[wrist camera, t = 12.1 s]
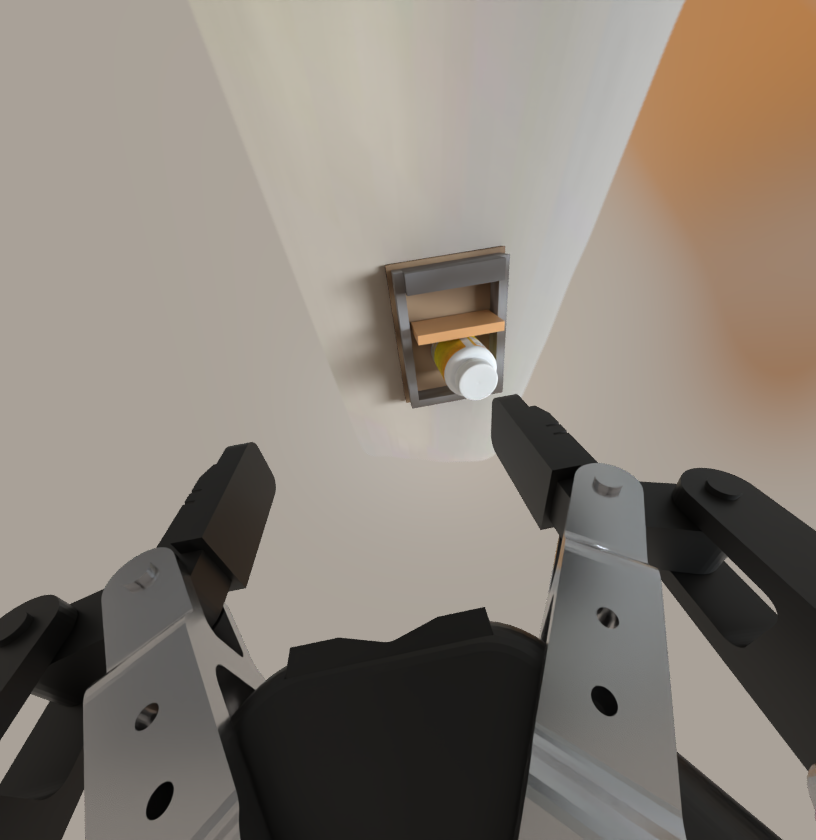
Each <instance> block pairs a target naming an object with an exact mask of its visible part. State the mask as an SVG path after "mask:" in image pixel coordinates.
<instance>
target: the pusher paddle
mask: <svg viewBox="0 0 816 840" xmlns="http://www.w3.org/2000/svg"><path fill="white" fill-rule="evenodd" d="M411 328H412V332H413V334H414V337H415V339H416V341H417V343H418V345H424V344H430V343H436V342H442V341H447V340H453V339H459V338H465V337H470V336H476V335H482V334H488V333H493V332H499V331H504V328H505V321H504V320H503V319H501V318H500V317H498V316H497V315H495V314H494V313H493V312H491V311H490V310H488V309H487V310H481V311H475V312H469V313H464V314H458V315H452V316H446V317H440V318H434V319H428V320H423V321H417V322H411Z"/></svg>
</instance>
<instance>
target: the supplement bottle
mask: <svg viewBox="0 0 816 840" xmlns="http://www.w3.org/2000/svg"><path fill="white" fill-rule="evenodd" d="M431 355H432V358H433V360H434V362H435V364H436V366H437V368H438V370H439V371H440V373H441V375H442V377H443V379H444V381H445V382H446V384H447V386H448V387H449V389H450V390H451V391H452V392H454V393H455V394H457V395H460V396H464V397H465V398H467V399H469V400H481V399H484V398H486V397H487V396H489V395H490V394H491V393H492V392H493V391H494V389H495V388H496V386H497V382H498V375H497V372H496V371H497V364H496V360H495V358H494V356H493V355H492V353H491V352H490V351H489V350H488V349H487V348H486V347H485V346H484V345H483V344H482V343H481V342H480V341H479V340H478V339H477V338H476V337H475V336H470V337H465V338H459V339H453V340H447V341H442V342H436V343H432V346H431Z"/></svg>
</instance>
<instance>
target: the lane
mask: <svg viewBox="0 0 816 840" xmlns="http://www.w3.org/2000/svg"><path fill="white" fill-rule="evenodd" d="M509 261H510V254H505V246H498V247H492V248H486V249H480V250H474V251H468V252H461V253H455V254H449V255H443V256H437V257H431V258H425V259H419V260H412V261H406V262H400V263H394V264H388V265H385V269H386V275H387V282H388V288H389V295H390V301H391V307H392V314H393V320H394V327H395V333H396V340H397V346H398V353H399V359H400V365H401V372H402V378H403V385H404V391H405V398H406V403H408V402H411V406H412V408H418V407H423V406H429V405H434V404H440V403H445V402H451V401H456V400H462V399H467V398H465V397H464V396H460V395H457V394H455V393H454V392H452V391H451V390H450V389H449V387H448V386H447V384H446V382H445V381H444V379H443V377H442V375H441V373H440V371H439V370H438V368H437V366H436V364H435V362H434V360H433V358H432V355H431V346H432V343H430V344H424V345H418V343H417V341H416V339H415V337H414V334H413V332H412V328H411V322H417V321H423V320H428V319H434V318H440V317H446V316H452V315H458V314H464V313H469V312H475V311H481V310H487V309H488V310H490V311H491V312H493V313H494V314H495V315H497V316H498V317H500V318H501V319H503V320H504V321H505V328H504V331H499V332H493V333H488V334H482V335H476V336H475V337H476V338H477V339H478V340H479V341H480V342H481V343H482V344H483V345H484V346H485V347H486V348H487V349H488V350H489V351H490V352H491V353H492V355H493V356H494V358H495V360H496V364H497V371H496V372H497V375H498V382H497V386H496V388H495V389H494V391H493V392H492V393H491V394H495V393H501V392H502V390H503V372H504V353H505V335H506V317H507V298H508V280H509Z"/></svg>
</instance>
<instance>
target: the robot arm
mask: <svg viewBox="0 0 816 840" xmlns="http://www.w3.org/2000/svg"><path fill="white" fill-rule="evenodd" d="M491 439H492V444H493V448H494V450H495V452H496V454H497V456H498V457H499V459H500V461H501V463H502V464H503V466H504V468H505V469H506V471H507V473H508V475H509V476H510V478H511V480H512V482H513V483H514V485H515V487H516V488H517V490H518V492H519V494H520V495H521V497H522V499H523V501H524V502H525V504H526V506H527V507H528V509H529V511H530V513H531V514H532V516H533V518H534V519H535V521H536V523H537V524H538V526H539V528H540V530H542V529H547V528H552V527H554V528H555V529H556V531H557V532H558V534H559V539H558V543H557V548H556V554H555V559H554V564H553V570H552V575H551V581H550V587H549V591H548V597H547V602H546V607H545V611H544V616H543V620H542V625H541V630H540V635H539V638H537V637H536V636H534V635H532V634H530V633H528V632H526V631H524V630H522V629H519V628H517V627H514V626H511V625H508V624H503V623H499V622H492V621H489V619H488V616H487V612H486V609H485V607H483V608H478V609H473V610H468V611H464V612H459V613H454V614H449V615H445V616H440V617H437V618H435V619H433V620H431V621H429V622H428V623H426V624H424V625H422V626H420V627H418V628H417V629H415V630H413V631H411V632H409V633H407V634H405V635H403V636H402V637H400V638H398V639H396V640H394V641H391V642H376V641H367V640H357V639H347V638H335V639H330V640H326V641H321V642H316V643H311V644H306V645H301V646H297V647H292V648H290V653H289V658H288V664H287V666H286V667H284V668H282V669H281V670H279V671H278V672H276V673H275V674H273V675H272V676H271V677H269V678H268V679H267V680H265V679H264V677H263V676H262V674H261V673H260V672H259V670H258V669H257V668H256V666H255V664H254V663H253V661H252V659H251V657H250V654H249V652H248V650H247V648H246V645H245V643H244V641H243V639H242V636H241V634H240V632H239V630H238V628H237V625H236V623H235V621H234V619H233V616H232V614H231V612H230V609H229V607H228V606H227V605H226V604H225V603H224V602H225V599H226V596H227V593H228V592H229V591H233V590H239V589H244V588H246V586H247V583H248V580H249V576H250V573H251V570H252V567H253V563H254V560H255V557H256V553H257V550H258V547H259V544H260V541H261V537H262V534H263V530H264V527H265V524H266V521H267V518H268V515H269V511H270V508H271V505H272V502H273V498H274V495H275V490H276V484H275V479H274V476H273V474H272V472H271V470H270V468H269V467H268V465H267V463H266V461H265V459H264V457H263V455H262V453H261V452H260V450H259V448H258V446H257V445H256V444H255V443H253V442H250V443H245V444H239V445H234V446H229V447H227V448H226V449H225V451H224V452H223V454H222V456H221V457H220V459H219V461H218V463H217V464H215V465H213V466H212V467H211V468H210V469H208V470H207V472H205V473H204V474H203V475H202V476H201V477H200V478H199V480H198V481H197V483H196V484H195V486H194V488H193V490H192V493H191V494H189V496H188V497H187V499H186V501H185V505H183V506H182V507H181V509H180V510H179V512H178V514H177V515H176V517H175V518H174V520H173V522H172V523H171V525H170V527H169V528H168V530H167V532H166V533H165V535H164V536H163V538H162V540H161V541H160V543H159V544H158V546H157V548H154V549H151V550H148V551H146V552H144V553H141V554H140V555H138V556H136V557H134V558H133V559H132V560H130V561H129V562H127V563H126V564H125V565H124V566H123V567H121V568H120V569H119V570H118V571H117V572H116V573H115V574H114V575H113V576H112V578H111V579H110V580H109V582H108V583H107V585H106V586H105V588H104V589H103V590H101V591H98V592H96V593H94V594H92V595H90V596H87V597H85V598H83V599H81V600H78V601H76V602H74V603H71V604H68V603H66V602H65V601H63V600H61V599H60V598H58V597H56V596H54V595H44V596H40V597H37V598H34V599H32V600H29V601H27V602H25V603H23V604H21V605H20V606H18V607H16V608H14V609H13V610H12V611H10V612H8V613H7V614H5V615H4V616H3V617H2V618H0V740H1V738H2V737H3V735H4V734H5V732H6V731H7V729H8V727H9V726H10V724H11V723H12V721H13V720H14V718H15V717H16V715H17V714H18V712H19V711H20V709H21V708H22V706H23V704H24V703H25V701H26V700H27V698H28V697H29V695H30V694H32V695H35V696H38V697H40V698H43V699H46V700H49V701H50V702H49V704H48V705H47V707H46V709H45V710H44V712H43V714H42V715H41V717H40V719H39V720H38V722H37V724H36V725H35V727H34V729H33V730H32V732H31V734H30V735H29V737H28V739H27V740H26V742H25V744H24V745H23V747H22V749H21V750H20V752H19V753H18V755H17V757H16V759H15V760H14V762H13V764H12V765H11V767H10V769H9V770H8V772H7V773H6V775H5V777H4V779H3V780H2V782H1V784H0V840H61V839H62V837H63V835H64V832H65V830H66V828H67V826H68V824H69V821H70V819H71V817H72V815H73V812H74V810H75V808H76V806H77V803H78V801H79V799H80V796H81V795H82V792H83V790H84V795H85V840H782V839H781V838H780V837H779V836H777V835H776V834H775V833H774V832H773V831H771V830H770V829H769V828H768V827H766V826H765V825H764V824H763V823H762V822H761V821H759V820H758V819H757V818H756V817H755V816H753V815H752V814H751V813H750V812H749V811H747V810H746V809H745V808H744V807H743V806H741V805H740V804H739V803H738V802H736V801H735V800H734V799H733V798H732V797H731V796H729V795H728V794H727V793H726V792H725V791H723V790H722V789H721V788H720V787H719V786H717V785H716V784H715V783H714V782H713V781H711V780H710V779H709V778H708V777H706V776H705V775H704V774H703V773H702V772H700V771H699V770H698V769H697V768H695V766H693V765H692V764H691V763H690V762H689V761H687V760H686V759H685V758H684V757H682V756H681V755H680V754H679V753H678V752H677V751H676V740H675V729H674V718H673V706H672V695H671V684H670V672H669V661H668V651H667V640H666V628H665V616H664V605H663V594H662V583H661V580H662V581H663V583H664V584H665V585H666V587H667V588H668V589H669V591H670V592H671V593H672V594H673V596H674V597H675V598H676V600H677V601H678V602H679V603H680V605H681V606H682V607H683V609H684V610H685V611H686V612H687V614H688V615H689V617H690V618H691V619H692V620H693V622H694V623H695V624H696V626H697V627H698V628H699V630H700V631H701V632H702V634H703V635H704V636H705V637H706V639H707V640H708V641H709V643H710V644H711V645H712V646H713V648H714V649H715V650H716V652H717V653H718V654H719V656H720V657H721V658H722V660H723V661H724V662H725V664H726V665H727V666H728V667H729V669H730V670H731V671H732V673H733V674H734V675H735V677H736V678H737V679H738V680H739V682H740V683H741V684H742V685H743V687H744V688H745V690H746V691H747V692H748V693H749V695H750V696H751V697H752V699H753V700H754V701H755V703H756V704H757V705H758V707H759V708H760V709H761V710H762V712H763V713H764V714H765V716H766V717H767V718H768V720H769V721H770V722H771V723H772V725H773V726H774V727H775V729H776V730H777V731H778V733H779V734H780V735H781V736H782V738H783V739H784V740H785V742H786V743H787V744H788V746H789V747H790V748H791V750H792V751H793V752H794V753H795V755H796V756H797V757H798V759H800V761H801V763H802V764H803V765H804V766H805V768H806V769H807V770H808V776H807V785H808V790H809V795H810V798H811V800H812V803H813V806H814V809H815V819H816V531H815V530H814V529H812V528H811V527H809V526H808V525H807V524H805V523H804V522H803V521H801V520H800V519H798V518H797V517H796V516H794V515H793V514H792V513H790V512H789V511H787V510H786V509H785V508H783V507H782V506H780V505H779V504H778V503H776V502H775V501H774V500H772V499H771V498H770V497H768V496H767V495H765V494H764V493H763V492H761V491H760V490H759V489H757V488H755V487H754V486H753V485H752V484H750V483H748V482H747V481H745V480H743V479H741V478H739V477H737V476H735V475H732V474H730V473H726V472H723V471H719V470H715V469H709V468H694V469H690V470H687V471H685V472H684V473H683V474H682V475H681V477H680V479H679V481H678V483H677V484H669V483H651V482H640V481H638V480H637V479H636V478H635V477H634V476H633V475H631V474H630V473H628V472H627V471H625V470H623V469H621V468H619V467H616V466H613V465H609V464H603V463H598V462H597V461H596V460H595V459H594V458H593V457H592V456H591V455H590V454H589V453H588V452H587V451H586V450H585V449H584V448H583V447H582V446H581V445H580V444H579V443H578V442H577V441H576V440H575V439H574V438H573V437H572V436H571V435H570V434H569V433H567V432H566V430H565V429H564V428H563V427H562V426H561V425H559V423H558V421H557V420H556V419H555V418H554V417H553V416H552V415H551V414H550V413H548V412H546V411H544V410H542V409H540V408H539V407H537V406H530V407H529V406H528V405H527V404H526V403H525V402H524V401H523V400H522V399H521V397H520V396H519V395H517V394H514V395H509V396H503V397H498V398H494V399H493V402H492V423H491ZM727 556H728V557H729V558H730V559H731V560H732V561H733V562H734V563H735V564H736V565H737V566H738V567H739V568H740V569H741V570H742V571H743V572H744V573H745V574H746V575H747V576H748V577H749V578H750V579H751V580H752V581H753V582H754V583H755V584H756V585H757V586H758V587H759V588H760V589H761V590H762V591H763V592H764V593H765V594H766V595H767V596H768V597H769V599H770V600H771V601H772V603H773V604H774V606H775V608H776V611H777V614H778V615H777V614H776V613H775V612H774V611H773V610H772V609H771V608H770V607H769V606H768V605H767V604H766V603H765V602H764V601H763V600H762V599H761V598H760V597H759V596H758V595H757V594H756V593H755V592H754V591H753V590H752V589H751V588H750V587H749V586H748V585H747V584H746V583H745V582H744V581H743V580H742V579H741V578H740V577H739V576H738V575H737V574H736V573H735V572H734V571H733V570H732V569H731V568H730V567H729V566H728V565H727V564H726V563H725V561H724V560H725V559H726V558H727Z"/></svg>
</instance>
